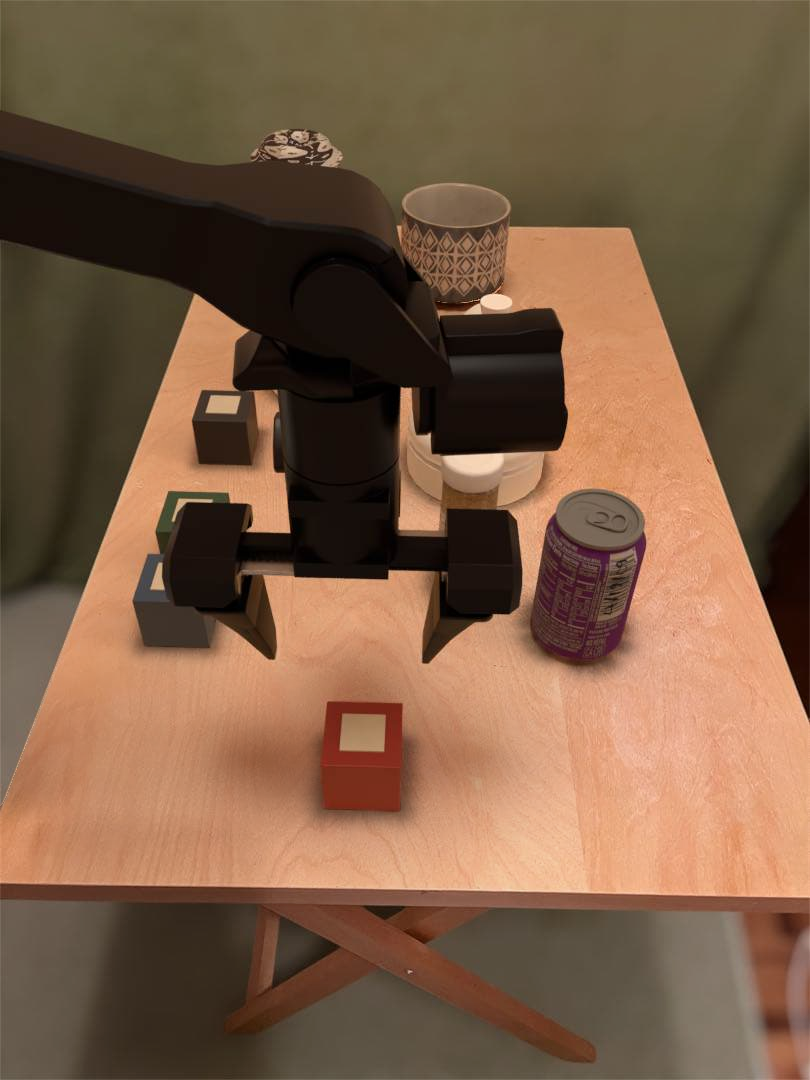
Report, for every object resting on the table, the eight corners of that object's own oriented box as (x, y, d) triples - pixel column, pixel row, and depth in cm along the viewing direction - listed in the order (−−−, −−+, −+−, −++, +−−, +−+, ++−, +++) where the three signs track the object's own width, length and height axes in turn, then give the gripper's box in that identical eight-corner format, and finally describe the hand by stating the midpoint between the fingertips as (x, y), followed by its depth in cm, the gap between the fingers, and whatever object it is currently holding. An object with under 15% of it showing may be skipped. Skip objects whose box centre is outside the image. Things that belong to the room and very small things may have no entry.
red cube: (399, 811, 60) (401, 766, 56) (323, 809, 60) (320, 764, 56) (401, 746, 63) (403, 701, 60) (329, 744, 63) (326, 699, 60)
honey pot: (560, 498, 83) (591, 322, 71) (423, 516, 81) (431, 337, 69) (519, 418, 92) (540, 249, 80) (394, 432, 90) (397, 260, 78)
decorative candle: (331, 415, 92) (321, 164, 75) (250, 394, 95) (223, 147, 78) (367, 370, 99) (366, 129, 82) (291, 352, 101) (273, 114, 84)
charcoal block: (251, 465, 86) (246, 420, 83) (198, 463, 86) (191, 419, 83) (258, 433, 90) (254, 389, 86) (208, 432, 90) (201, 388, 86)
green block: (225, 578, 75) (218, 531, 72) (164, 576, 75) (154, 530, 72) (235, 536, 79) (228, 491, 75) (177, 535, 79) (167, 489, 75)
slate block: (209, 647, 70) (200, 601, 66) (144, 646, 70) (131, 599, 66) (220, 600, 73) (212, 553, 70) (158, 598, 73) (147, 552, 70)
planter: (390, 268, 116) (390, 186, 109) (484, 259, 119) (491, 179, 111) (414, 317, 107) (417, 231, 100) (516, 306, 110) (526, 222, 102)
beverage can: (627, 611, 73) (658, 497, 65) (612, 677, 68) (644, 562, 60) (540, 589, 75) (560, 475, 67) (519, 652, 70) (538, 536, 62)
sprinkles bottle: (500, 585, 75) (518, 454, 66) (463, 613, 73) (475, 481, 64) (460, 556, 77) (471, 427, 68) (422, 583, 75) (428, 452, 66)
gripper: (520, 364, 50) (495, 566, 61) (182, 356, 50) (217, 559, 61) (538, 494, 42) (506, 701, 53) (135, 484, 42) (184, 693, 53)
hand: (349, 655), depth 55 cm, fingers open, 9 cm apart
